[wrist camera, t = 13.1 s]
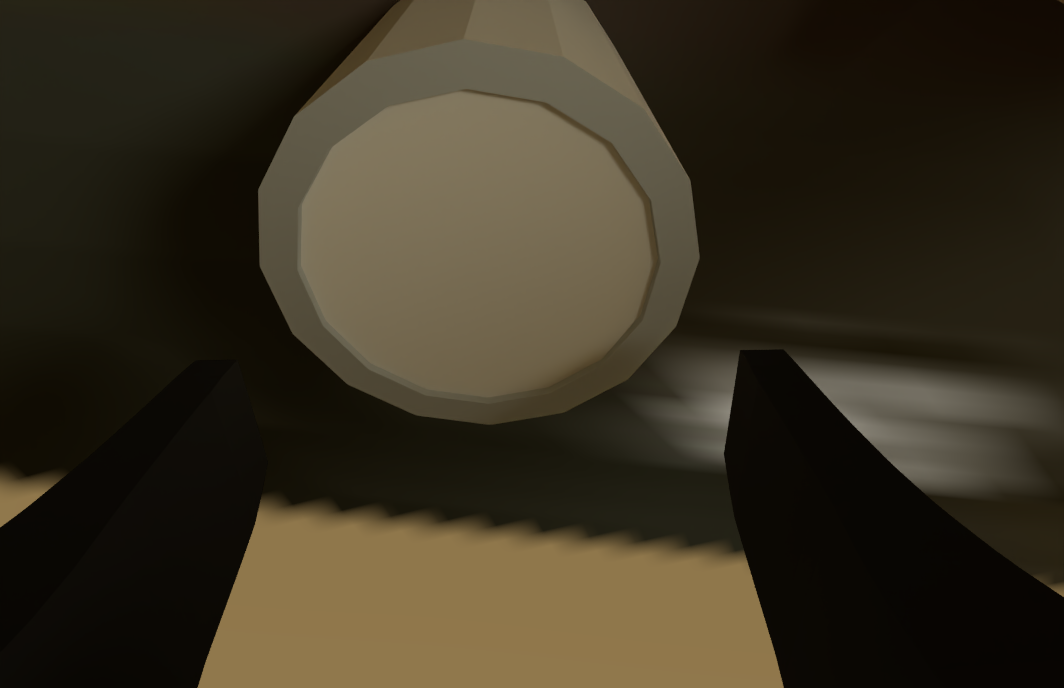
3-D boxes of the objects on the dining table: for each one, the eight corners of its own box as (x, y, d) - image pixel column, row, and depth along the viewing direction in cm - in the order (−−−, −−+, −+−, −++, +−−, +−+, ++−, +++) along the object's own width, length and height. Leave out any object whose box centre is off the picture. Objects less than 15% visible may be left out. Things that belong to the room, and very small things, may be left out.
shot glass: (715, 92, 19) (793, 260, 13) (503, 283, 22) (493, 485, 16) (481, -156, 16) (454, -78, 10) (274, 102, 19) (165, 272, 13)
